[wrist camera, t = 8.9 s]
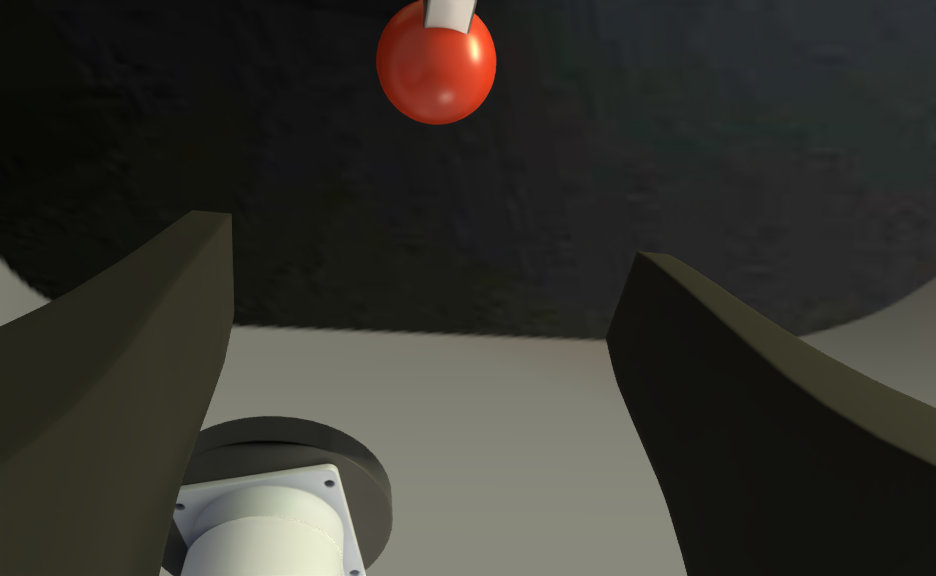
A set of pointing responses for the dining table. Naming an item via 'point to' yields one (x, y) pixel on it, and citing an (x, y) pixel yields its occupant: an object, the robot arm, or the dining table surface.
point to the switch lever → (436, 60)
